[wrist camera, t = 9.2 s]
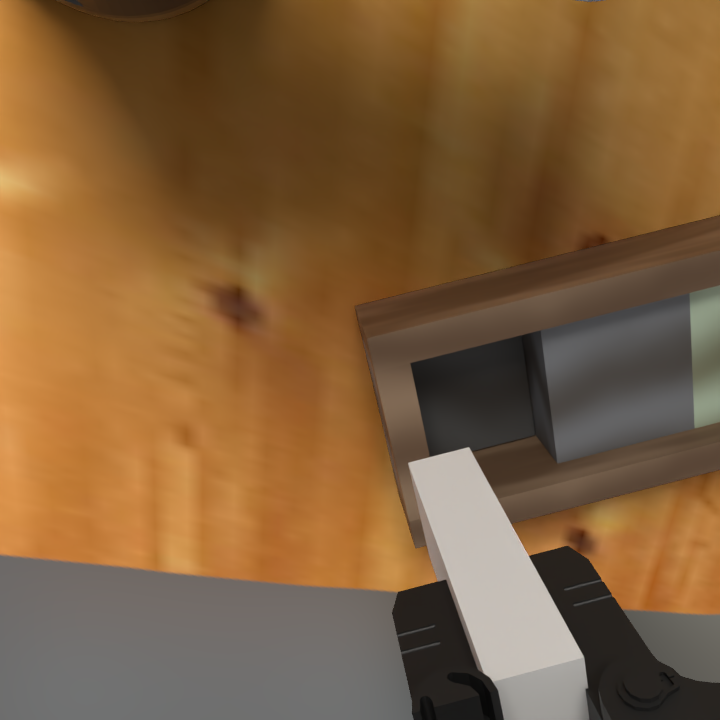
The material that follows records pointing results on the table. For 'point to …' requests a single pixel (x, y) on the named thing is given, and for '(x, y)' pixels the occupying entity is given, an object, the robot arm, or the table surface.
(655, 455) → the trap box
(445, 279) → the table surface
